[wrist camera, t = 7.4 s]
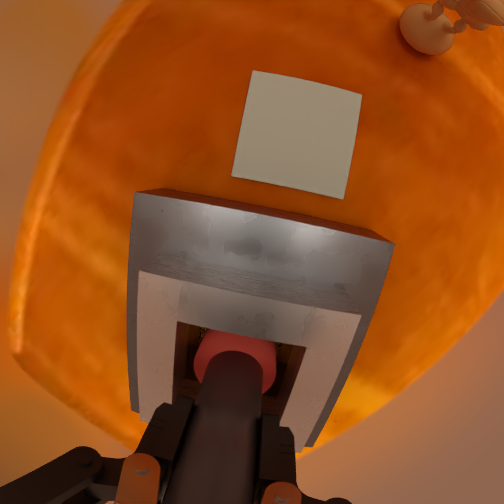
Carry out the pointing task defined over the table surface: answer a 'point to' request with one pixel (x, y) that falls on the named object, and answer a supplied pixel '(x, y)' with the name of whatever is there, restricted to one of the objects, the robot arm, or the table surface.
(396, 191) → the table surface
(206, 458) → the dark grey cylinder
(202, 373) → the button
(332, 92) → the pad
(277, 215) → the box
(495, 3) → the figurine
